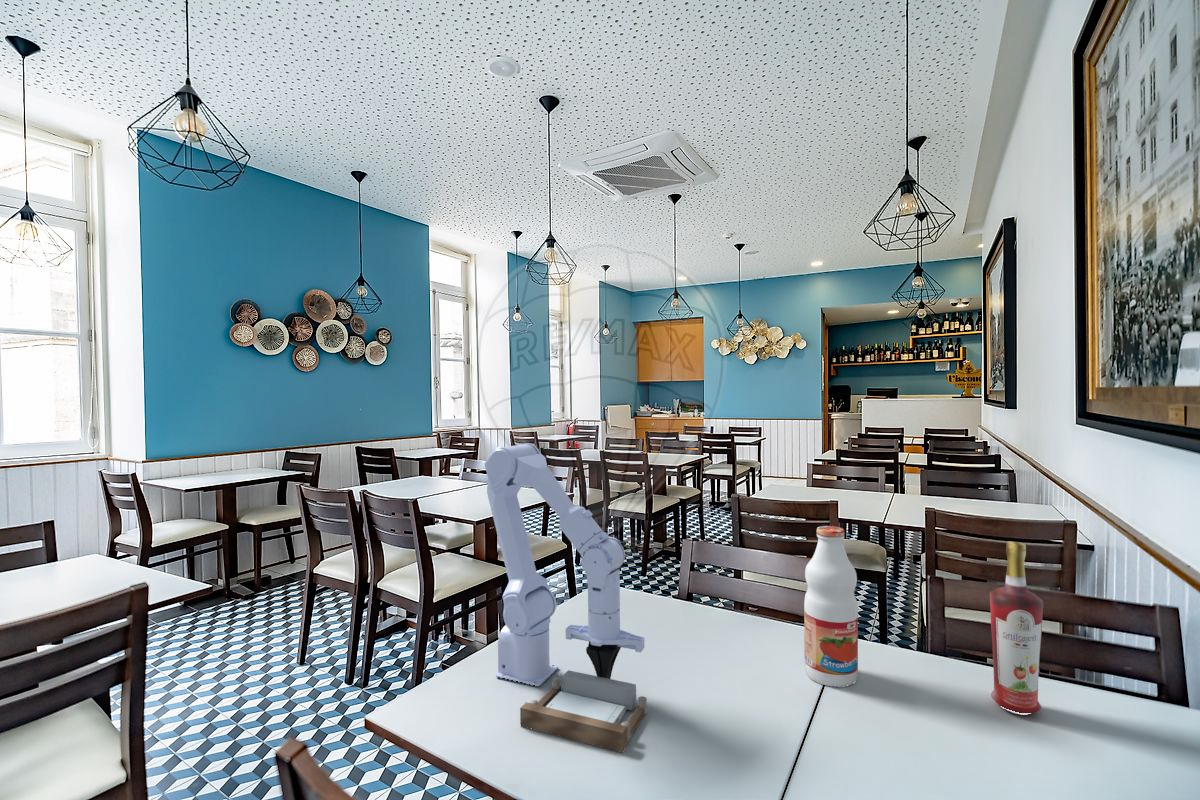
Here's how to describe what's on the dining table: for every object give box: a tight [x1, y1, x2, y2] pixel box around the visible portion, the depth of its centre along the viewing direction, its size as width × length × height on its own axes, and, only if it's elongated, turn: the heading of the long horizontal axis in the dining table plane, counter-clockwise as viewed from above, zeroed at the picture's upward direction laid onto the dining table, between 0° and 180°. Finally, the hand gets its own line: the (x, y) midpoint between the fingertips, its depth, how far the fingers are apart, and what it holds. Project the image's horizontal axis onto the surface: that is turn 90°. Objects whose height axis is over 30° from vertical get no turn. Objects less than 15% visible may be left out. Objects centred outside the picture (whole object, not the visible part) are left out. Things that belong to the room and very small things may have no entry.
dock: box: [519, 677, 648, 753], centre depth 95 cm, size 18×12×3 cm, turn 67°
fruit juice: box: [803, 525, 859, 688], centre depth 108 cm, size 9×9×28 cm
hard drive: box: [546, 690, 627, 724], centre depth 96 cm, size 2×8×12 cm
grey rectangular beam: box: [562, 670, 637, 711], centre depth 100 cm, size 13×2×4 cm, turn 67°
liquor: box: [989, 540, 1044, 714], centre depth 96 cm, size 7×7×28 cm
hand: (604, 683), depth 102 cm, fingers closed, pressing on grey rectangular beam
